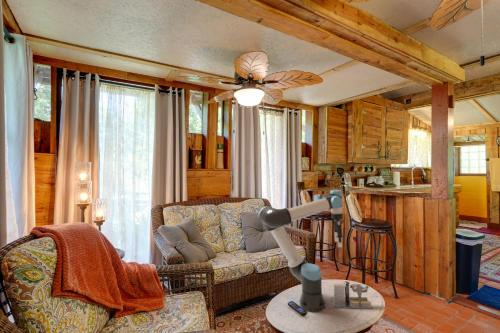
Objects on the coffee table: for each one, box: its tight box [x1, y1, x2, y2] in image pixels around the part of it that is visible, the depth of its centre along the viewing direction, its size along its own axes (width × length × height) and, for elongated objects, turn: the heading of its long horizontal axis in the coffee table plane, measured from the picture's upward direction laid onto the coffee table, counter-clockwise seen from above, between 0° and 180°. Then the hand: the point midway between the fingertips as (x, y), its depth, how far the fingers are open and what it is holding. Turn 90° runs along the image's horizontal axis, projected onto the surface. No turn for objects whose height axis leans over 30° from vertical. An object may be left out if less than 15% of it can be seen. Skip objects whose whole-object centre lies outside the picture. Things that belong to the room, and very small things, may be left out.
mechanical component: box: [349, 283, 369, 302], centre depth 163 cm, size 3×10×10 cm, turn 81°
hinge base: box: [329, 280, 373, 310], centre depth 164 cm, size 22×12×13 cm, turn 82°
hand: (338, 244), depth 184 cm, fingers open, 13 cm apart
